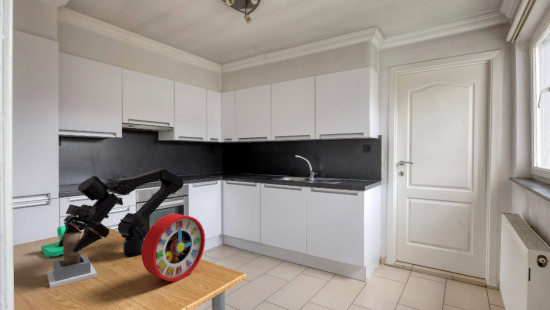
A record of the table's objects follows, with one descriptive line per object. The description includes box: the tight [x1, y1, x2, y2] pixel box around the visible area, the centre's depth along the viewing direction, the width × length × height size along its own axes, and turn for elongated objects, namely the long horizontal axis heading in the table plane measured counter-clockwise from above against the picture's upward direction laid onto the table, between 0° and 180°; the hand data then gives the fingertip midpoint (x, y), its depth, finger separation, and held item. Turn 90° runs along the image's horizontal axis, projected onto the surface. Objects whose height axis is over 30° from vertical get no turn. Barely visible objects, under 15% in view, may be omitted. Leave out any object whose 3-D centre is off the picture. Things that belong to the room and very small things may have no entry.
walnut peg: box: [62, 232, 81, 266], centre depth 93 cm, size 4×4×12 cm
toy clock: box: [141, 213, 206, 282], centre depth 92 cm, size 20×6×20 cm, turn 147°
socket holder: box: [46, 253, 98, 289], centre depth 93 cm, size 12×12×4 cm
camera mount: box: [40, 225, 66, 258], centre depth 112 cm, size 12×8×10 cm, turn 57°
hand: (66, 249), depth 92 cm, fingers open, 9 cm apart
